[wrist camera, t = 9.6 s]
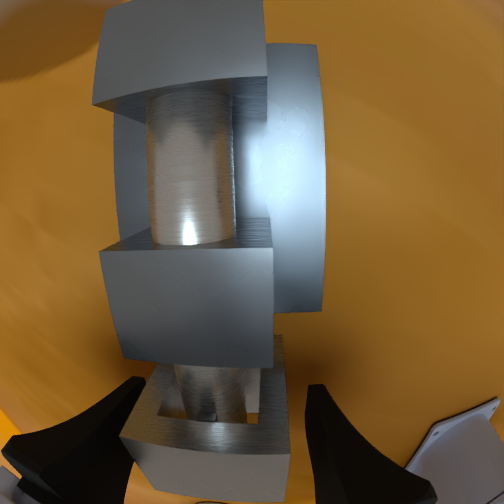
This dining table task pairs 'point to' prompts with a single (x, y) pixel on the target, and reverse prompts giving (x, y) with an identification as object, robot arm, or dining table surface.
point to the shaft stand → (210, 190)
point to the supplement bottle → (209, 503)
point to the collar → (213, 439)
